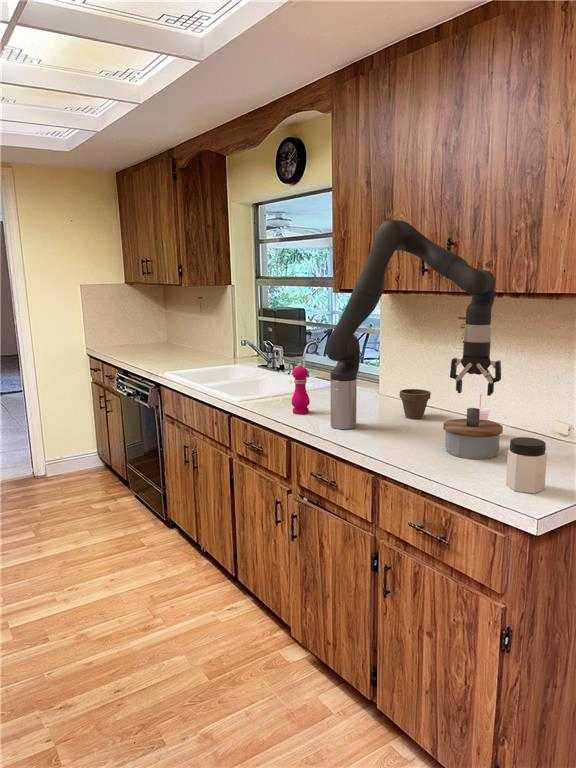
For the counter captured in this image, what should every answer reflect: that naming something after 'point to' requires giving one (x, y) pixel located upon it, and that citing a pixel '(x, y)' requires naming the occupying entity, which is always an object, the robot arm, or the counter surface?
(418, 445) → the counter surface
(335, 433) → the counter surface
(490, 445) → the grey hollow cylinder
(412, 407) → the flower pot
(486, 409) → the beverage cup
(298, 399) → the pepper mill
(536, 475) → the jar
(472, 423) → the walnut lid
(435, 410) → the counter surface
